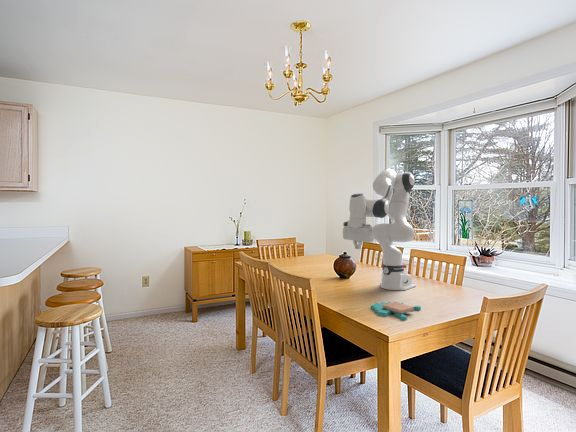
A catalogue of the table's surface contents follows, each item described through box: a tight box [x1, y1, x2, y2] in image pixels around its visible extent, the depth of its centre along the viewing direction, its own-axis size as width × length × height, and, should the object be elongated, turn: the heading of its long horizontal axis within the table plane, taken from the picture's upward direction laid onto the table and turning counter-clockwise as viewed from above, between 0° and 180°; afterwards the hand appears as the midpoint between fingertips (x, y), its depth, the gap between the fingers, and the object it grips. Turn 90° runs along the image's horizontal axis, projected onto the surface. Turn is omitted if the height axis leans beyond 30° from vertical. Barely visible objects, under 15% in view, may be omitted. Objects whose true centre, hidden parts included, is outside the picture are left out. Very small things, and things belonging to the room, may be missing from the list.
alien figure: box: [370, 301, 422, 322], centre depth 173 cm, size 20×2×20 cm
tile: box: [383, 301, 415, 314], centre depth 170 cm, size 9×2×11 cm
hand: (357, 249), depth 194 cm, fingers closed
